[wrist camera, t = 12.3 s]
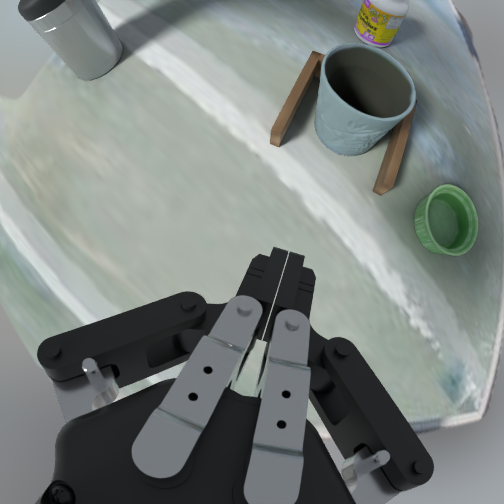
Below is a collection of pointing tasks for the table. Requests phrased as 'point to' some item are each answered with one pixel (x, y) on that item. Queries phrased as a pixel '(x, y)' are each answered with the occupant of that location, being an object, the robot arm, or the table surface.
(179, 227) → the table surface
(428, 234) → the ramekin
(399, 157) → the brown piece
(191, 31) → the table surface
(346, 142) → the blue-grey plant pot
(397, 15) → the supplement bottle
